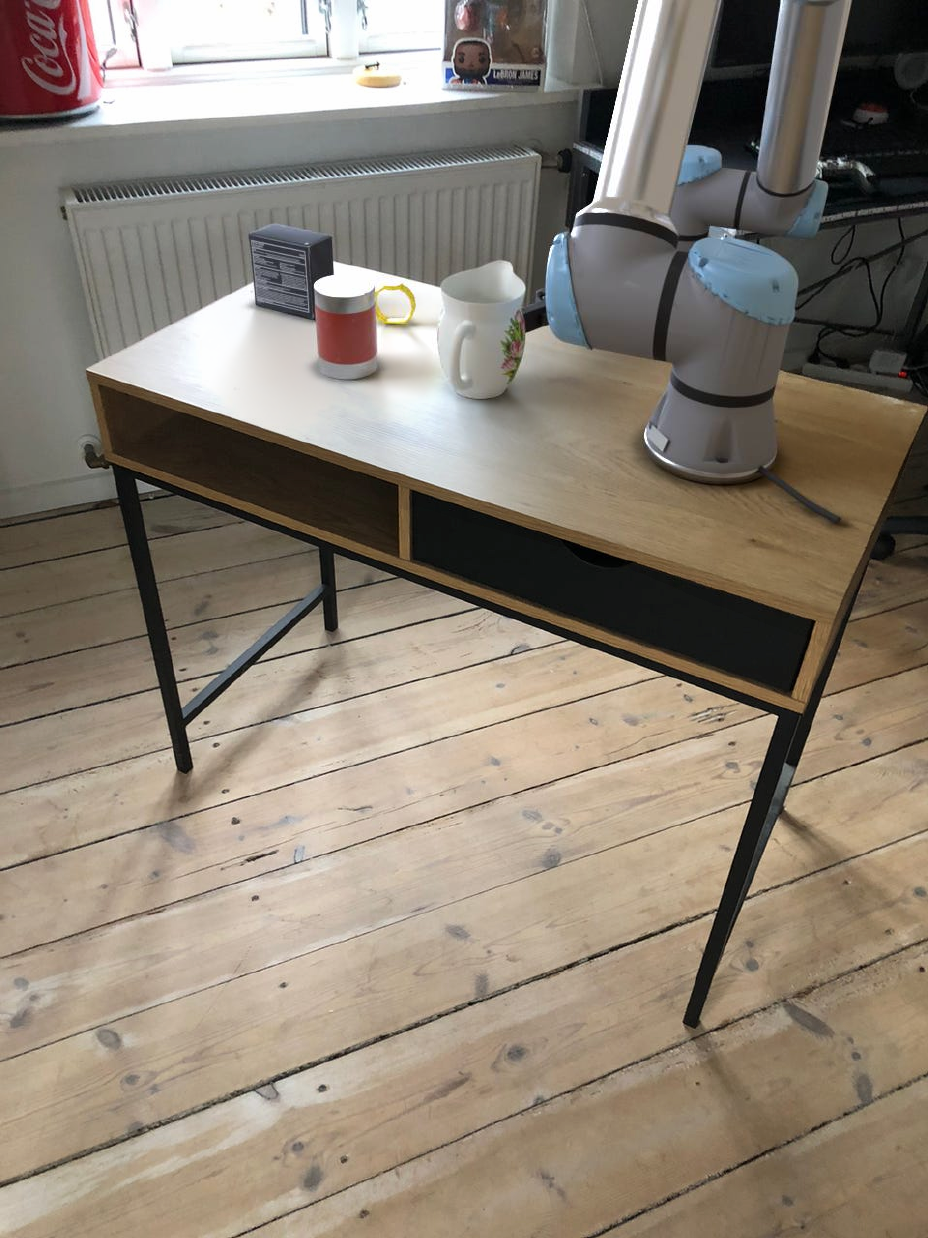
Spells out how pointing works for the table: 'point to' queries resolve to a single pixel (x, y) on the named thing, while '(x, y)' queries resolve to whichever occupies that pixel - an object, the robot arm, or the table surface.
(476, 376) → the pitcher
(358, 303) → the tin can
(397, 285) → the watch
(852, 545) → the table surface
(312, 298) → the small box
